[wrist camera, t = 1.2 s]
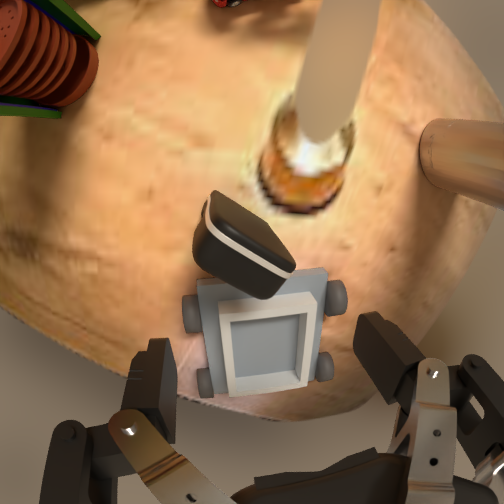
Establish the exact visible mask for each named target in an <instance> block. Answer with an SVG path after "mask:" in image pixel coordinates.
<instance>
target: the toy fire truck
mask: <svg viewBox="0 0 504 504" xmlns="http://www.w3.org/2000/svg"><path fill="white" fill-rule="evenodd" d="M212 1H213V2H214V3H215V4H216V5H217V6H219V7H225V6H226V5H227V4H228V5H229V6H230V7H234V6H237V5H239V4H240V3H241V2H242V1H246V0H212Z"/></svg>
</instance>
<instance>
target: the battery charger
mask: <svg viewBox="0 0 504 504" xmlns="http://www.w3.org/2000/svg"><path fill="white" fill-rule="evenodd" d="M201 215H202V220H201V221H200V223H199V224H198V226H197V228H196V230H195V232H194V237H193V244H192V253H193V257H194V260H195V262H196V263H197V264H198V266H199V267H200V268H202V269H203V270H204V271H206V272H208V273H209V274H211V275H213V276H215V277H216V278H218V279H220V280H222V281H224V282H225V283H227V284H229V285H231V286H233V287H235V288H237V289H238V290H240V291H242V292H244V293H246V294H248V295H250V296H252V297H254V298H257V299H260V300H267V299H270V298H272V297H273V296H274V295H275V294H276V293H277V292H278V290H279V289H280V288H281V286H282V285H283V284H284V283H285V281H286V280H287V279H289V278H290V277H291V276H292V274H293V271H294V269H295V268H296V262H295V260H294V259H293V257H292V256H291V254H290V253H289V251H288V250H287V249H286V247H285V246H284V245H283V243H282V242H281V241H280V239H279V238H278V237H277V236H276V234H275V233H274V232H273V230H272V229H271V228H270V226H269V225H268V223H267V222H265V221H264V220H262V219H261V218H259V217H258V216H256V215H255V214H253V213H251V212H250V211H248V210H247V209H245V208H244V207H242V206H241V205H239V204H237V203H236V202H234V201H233V200H231V199H230V198H228V197H226V196H225V195H223V194H222V193H220V192H218V191H216V190H214V191H213V192H212V193H211V194H209V196H208V197H207V200H206V202H205V203H204V206H203V208H202V213H201Z"/></svg>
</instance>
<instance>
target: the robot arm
mask: <svg viewBox="0 0 504 504" xmlns="http://www.w3.org/2000/svg"><path fill="white" fill-rule="evenodd" d="M420 160H421V165H422V168H423V171H424V173H425V175H426V177H427V179H428V180H429V181H430V182H431V183H432V184H433V185H434V186H436V187H439V188H442V189H445V190H448V191H451V192H454V193H457V194H460V195H463V196H466V197H469V198H471V199H474V200H477V201H480V202H482V203H485V204H488V205H490V206H493V207H495V208H498V209H500V210H503V211H504V123H498V122H488V121H477V120H463V119H435V120H433V121H431V122H430V123H429V124H428V125H427V126H426V128H425V130H424V132H423V134H422V137H421V141H420ZM353 349H354V353H355V355H356V356H357V358H358V359H359V361H360V362H361V364H362V365H363V367H364V368H365V370H366V371H367V373H368V375H369V376H370V378H371V379H372V381H373V382H374V384H375V385H376V387H377V388H378V390H379V392H380V393H381V395H382V396H383V398H384V399H385V401H386V403H387V404H388V405H390V404H392V403H395V402H398V403H399V404H400V405H399V407H398V410H397V416H396V420H395V425H394V430H393V435H392V439H391V443H390V446H389V448H388V450H387V452H386V453H377V451H376V449H375V447H373V448H371V449H367V450H365V451H362V452H359V453H356V454H353V455H350V456H347V457H346V458H344V459H342V460H340V461H339V462H337V463H335V464H333V465H332V466H330V467H328V468H326V469H324V470H322V471H318V472H284V473H279V474H273V475H267V476H261V477H254V484H253V485H250V486H248V487H246V488H244V489H242V490H240V491H238V492H237V493H235V494H233V495H232V496H231V497H228V496H227V495H226V494H225V493H223V492H222V491H221V490H220V489H219V488H218V487H217V486H215V485H214V484H213V483H212V482H211V481H210V480H209V479H208V478H206V477H205V476H204V475H203V474H202V473H201V472H200V471H199V470H198V469H197V468H196V467H195V466H194V465H193V464H192V463H191V462H190V461H189V460H188V459H186V458H185V457H184V456H183V455H180V454H178V453H177V452H176V451H175V450H174V449H173V448H172V447H171V446H170V444H175V428H176V399H177V368H176V363H175V360H174V356H173V352H172V348H171V344H170V341H169V338H152V339H150V340H149V344H148V349H147V351H139V352H138V353H137V354H136V356H135V357H134V358H133V359H132V361H131V365H130V372H129V374H128V380H127V382H126V387H125V392H124V396H123V400H122V405H121V409H120V411H119V412H117V413H115V414H114V415H113V416H112V417H111V419H110V420H109V423H106V424H103V425H99V426H94V427H88V428H85V427H84V426H83V425H82V424H81V423H80V422H78V421H76V420H66V421H63V422H61V423H60V424H58V425H57V426H56V428H55V429H54V431H53V434H52V438H51V442H50V446H49V451H48V455H47V460H46V465H45V470H44V475H43V481H42V487H41V493H40V501H39V504H117V483H118V477H120V476H125V475H130V474H134V473H138V475H139V476H140V477H141V480H142V481H143V482H144V484H145V485H146V486H147V487H148V489H150V491H151V492H152V493H153V495H154V496H155V497H156V498H157V499H158V500H159V501H160V503H161V504H503V503H504V381H503V380H502V379H501V378H500V377H499V375H498V374H497V373H496V372H495V371H494V370H493V369H492V367H490V365H489V364H488V363H487V362H486V361H485V360H484V359H483V358H482V357H480V356H478V355H474V354H470V355H466V356H465V357H464V358H463V360H462V362H461V364H460V365H455V366H446V365H445V364H444V363H443V362H442V361H440V360H438V359H434V358H427V359H426V357H425V356H424V355H423V354H422V353H421V352H420V351H419V349H418V348H417V347H416V346H415V345H414V344H413V343H412V342H411V341H410V339H408V337H407V336H406V335H405V334H403V332H402V331H401V330H400V329H399V327H398V326H397V325H395V324H393V323H392V322H390V321H388V320H384V319H383V318H382V316H381V315H380V314H379V313H378V312H376V311H373V312H369V313H364V314H360V315H359V317H358V320H357V325H356V330H355V335H354V339H353ZM473 395H474V396H475V398H476V399H477V401H478V402H479V403H480V405H481V406H482V407H483V409H484V413H485V414H484V418H483V420H482V419H481V417H480V416H479V415H478V413H477V411H476V410H475V409H474V407H473V406H472V405H471V403H470V402H469V401H470V400H471V398H472V397H473ZM456 438H457V439H458V441H459V442H460V444H461V446H462V447H463V449H464V451H465V452H466V454H467V456H468V457H469V459H470V461H471V463H472V464H473V466H474V468H475V470H476V471H475V477H474V478H473V480H472V481H470V480H467V479H464V478H461V477H458V476H455V475H453V472H454V463H455V451H456Z"/></svg>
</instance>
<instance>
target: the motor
mask: <svg viewBox="0 0 504 504" xmlns="http://www.w3.org/2000/svg"><path fill="white" fill-rule="evenodd" d="M80 35H86V36H89V37H92V38H93V39H95V40H97V39H99V38H100V37H101V36H100V35H99V34H98V33H97V32H96V31H95V30H94V29H93V28H92V27H91V26H90V25H89V24H88V23H87V22H86V21H85V20H84V19H83V18H82V17H81V16H80V15H79V14H77V13H76V12H75V11H74V10H73V9H72V8H71V7H70V6H69V5H68V4H67V3H66V2H65V1H63V0H0V116H23V117H40V118H53V119H58V118H61V115H62V112H59V111H57V109H50V108H43V107H41V106H40V105H39V104H41V105H46V106H52V107H62V106H66V105H69V104H71V103H73V102H75V101H76V100H78V99H79V98H80V97H81V96H82V95H83V94H84V93H85V92H86V91H87V90H88V89H89V87H90V86H91V84H92V82H93V81H94V78H95V76H96V73H97V70H98V63H99V59H98V54H97V51H96V49H95V47H94V46H93V45H92V44H91V43H89V42H88V41H87V40H86V39H84V38H83V37H82V36H80Z"/></svg>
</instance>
